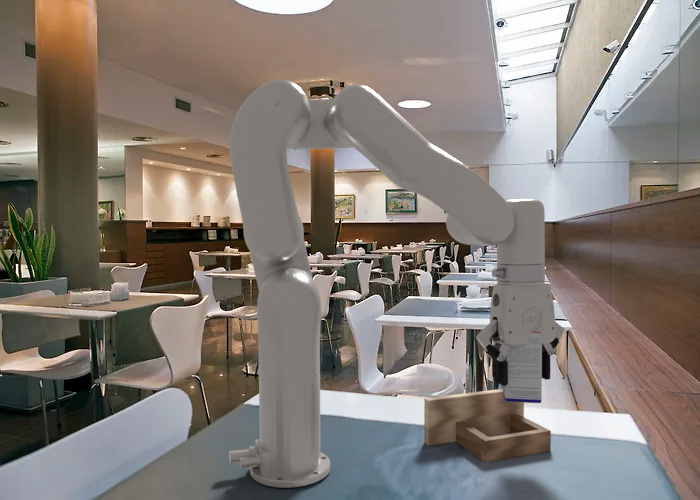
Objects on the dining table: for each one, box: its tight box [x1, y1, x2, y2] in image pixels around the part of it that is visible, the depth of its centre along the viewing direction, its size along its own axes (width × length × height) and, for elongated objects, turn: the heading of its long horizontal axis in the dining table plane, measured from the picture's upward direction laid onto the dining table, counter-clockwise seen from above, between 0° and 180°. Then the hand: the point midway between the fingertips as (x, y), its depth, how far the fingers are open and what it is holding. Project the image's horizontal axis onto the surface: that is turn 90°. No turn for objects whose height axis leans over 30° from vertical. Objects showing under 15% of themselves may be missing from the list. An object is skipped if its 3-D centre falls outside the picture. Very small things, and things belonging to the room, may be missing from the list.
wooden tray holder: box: [423, 388, 552, 463], centre depth 96 cm, size 20×11×8 cm, turn 110°
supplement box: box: [502, 332, 543, 404], centre depth 91 cm, size 6×6×12 cm
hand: (521, 379), depth 91 cm, fingers closed on supplement box, 7 cm apart
